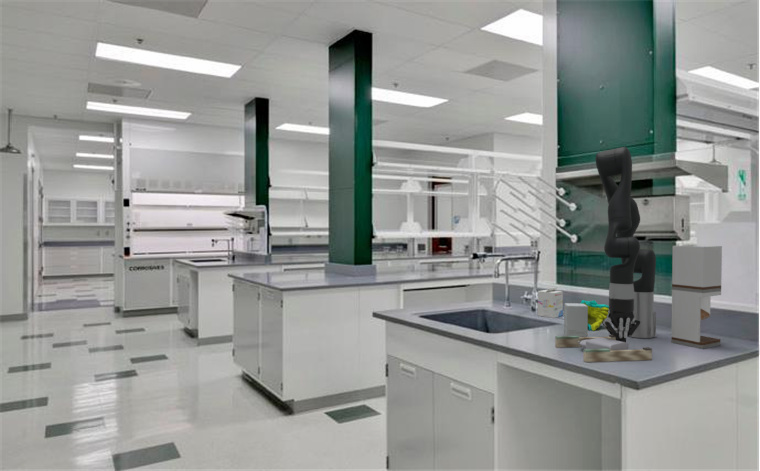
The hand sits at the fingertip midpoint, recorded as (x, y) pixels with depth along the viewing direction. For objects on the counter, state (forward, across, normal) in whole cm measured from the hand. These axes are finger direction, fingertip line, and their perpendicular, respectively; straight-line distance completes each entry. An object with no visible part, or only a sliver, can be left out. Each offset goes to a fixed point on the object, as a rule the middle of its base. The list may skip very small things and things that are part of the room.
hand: (620, 348), depth 167 cm
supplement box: (+2, +4, -22) cm, 23 cm away
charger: (+2, +8, 0) cm, 8 cm away
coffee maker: (+2, -34, -8) cm, 35 cm away
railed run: (+1, +7, 0) cm, 7 cm away
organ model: (+2, -12, -40) cm, 42 cm away
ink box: (+2, -9, -67) cm, 68 cm away
